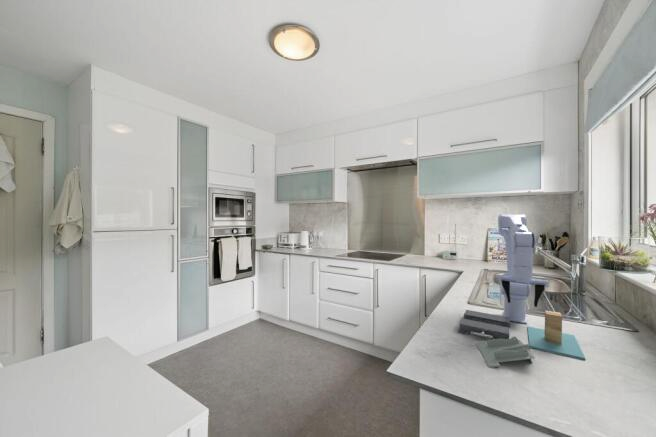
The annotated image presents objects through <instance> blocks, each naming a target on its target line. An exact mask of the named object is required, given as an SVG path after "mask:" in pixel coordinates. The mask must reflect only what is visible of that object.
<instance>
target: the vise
mask: <svg viewBox="0 0 656 437" xmlns="http://www.w3.org/2000/svg"><path fill="white" fill-rule="evenodd" d="M458 325H459V327H458V334H464V335H465V334H470V335H473V336H475V337H476V336H477V337H482V338H485V339H489V340H494V339H510V332H511V331H510V330H511V329H510V327H511V326H510V325H511V321H510V318H509V317H504V316H503V315H497V314H491V313H486V312H481V311H475V310H470V309H469V310H468V309H465V311H464V313H463V318H461V319H460V321H459V323H458Z"/></svg>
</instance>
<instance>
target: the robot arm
mask: <svg viewBox="0 0 656 437" xmlns="http://www.w3.org/2000/svg"><path fill="white" fill-rule="evenodd" d="M527 223H528V220H527V216H526V215H525V214H523V213H522V214H502V213H501V214H499V215H498V218H497V228H498V233H499V234H498V235H500V236H501V237H503V239H504V243H505V253H506V254H505V256H506V270H507V271H506V272H505V273H503V274H502V275H500V274H499V275H498V277H497V281H498V282H499V291H500V294H501V295H503V296H504V298H503V312H502V316H504V317H509V318H510V322H516V323H521V324H528V318H527V314H526V311H527V309H526V308H527V307H526V306H527V304H526V302H527V300H528V298H530V297H531V294H532V286H534V300H533V304H534V305H533V306H534V307H535V308H537V307H538V302H540V298H541V296H542V294H543V293H544V291H545V288H549V286H550V282H549V280H547V279H546V280H545V279H539V278H535V277H534V278H533V254H534V253H533V250H534V248H535V247H536V235H535V233H534V232H533V231H529V229H528V227H527Z"/></svg>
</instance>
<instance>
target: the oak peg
mask: <svg viewBox="0 0 656 437" xmlns="http://www.w3.org/2000/svg"><path fill="white" fill-rule="evenodd" d="M544 330H545V340H546V341H548V342H552V343H557V344H562V333H563V315H562V313H561V312H559V311H558V312H557V311H551V310H544Z"/></svg>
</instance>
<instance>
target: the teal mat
mask: <svg viewBox="0 0 656 437" xmlns="http://www.w3.org/2000/svg"><path fill="white" fill-rule="evenodd" d="M527 335H528V342H529V343H528V344H529V347H530V349H533V350H539V351H544V352H547V353H551V354H557V355H560V356H564V357H570V358H575V359H578V360H581V361H582V360H584V361H586V357H585V355H584V352H583V350H582V348H581V347H580V345H579V343H578V340H577V339H576V338H577V337H576V336H575V335H574V334H571V333H565V332H562V344H557V343H552V342H548V341H546V340H545V328H544V329H543V328H538V327H532V326H527Z"/></svg>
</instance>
